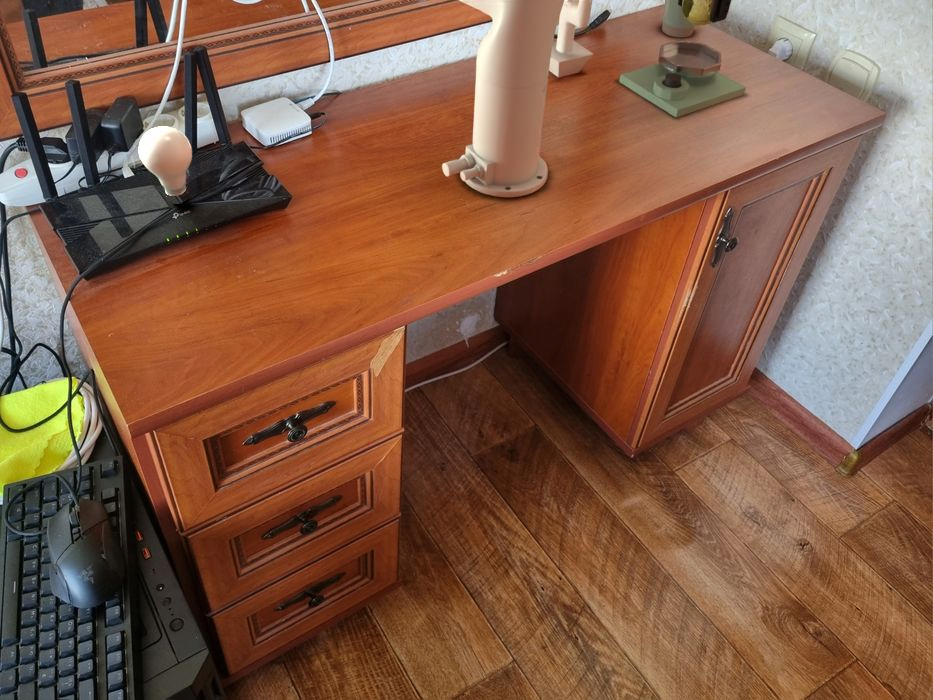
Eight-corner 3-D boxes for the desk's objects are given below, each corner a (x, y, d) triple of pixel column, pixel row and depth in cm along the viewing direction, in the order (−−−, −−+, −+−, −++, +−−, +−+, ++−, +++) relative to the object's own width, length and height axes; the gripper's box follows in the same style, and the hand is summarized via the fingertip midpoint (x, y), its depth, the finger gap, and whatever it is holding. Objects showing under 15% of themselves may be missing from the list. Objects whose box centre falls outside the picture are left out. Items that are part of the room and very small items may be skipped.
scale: (675, 117, 127) (680, 100, 125) (619, 82, 135) (622, 65, 133) (743, 94, 134) (748, 78, 132) (685, 61, 142) (689, 45, 140)
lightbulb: (145, 201, 105) (123, 127, 98) (188, 184, 109) (169, 111, 101) (170, 222, 102) (149, 148, 95) (212, 204, 106) (196, 131, 98)
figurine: (562, 54, 142) (574, -32, 131) (594, 76, 136) (608, -12, 126) (529, 62, 139) (538, -26, 128) (559, 85, 134) (571, -5, 123)
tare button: (671, 90, 128) (673, 81, 127) (660, 84, 130) (662, 75, 129) (682, 86, 129) (684, 78, 128) (671, 80, 131) (673, 71, 130)
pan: (688, 83, 130) (690, 72, 128) (646, 58, 135) (648, 48, 134) (730, 69, 134) (733, 59, 132) (688, 46, 140) (690, 36, 138)
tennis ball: (709, 15, 132) (720, -27, 127) (725, 32, 128) (736, -11, 123) (673, 16, 131) (683, -26, 127) (688, 33, 127) (698, -9, 122)
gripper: (672, -123, 119) (648, -3, 132) (759, -90, 109) (724, 37, 122) (707, -129, 122) (680, -11, 135) (795, -97, 112) (757, 27, 125)
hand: (701, 11), depth 128 cm, fingers closed on tennis ball, 6 cm apart
